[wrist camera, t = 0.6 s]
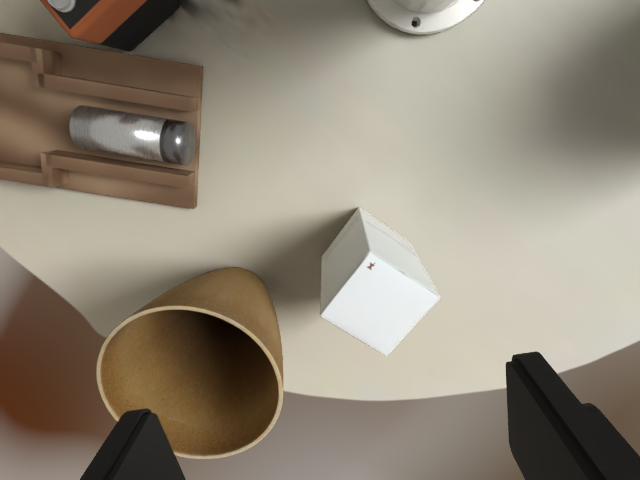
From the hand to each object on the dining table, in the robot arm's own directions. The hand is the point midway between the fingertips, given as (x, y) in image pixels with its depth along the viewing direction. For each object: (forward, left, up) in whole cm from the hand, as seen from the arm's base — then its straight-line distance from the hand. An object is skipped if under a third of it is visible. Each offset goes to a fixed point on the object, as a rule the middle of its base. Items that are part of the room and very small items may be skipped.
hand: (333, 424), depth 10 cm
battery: (-13, -20, -33) cm, 40 cm away
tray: (-2, -26, -32) cm, 42 cm away
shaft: (-2, -19, -31) cm, 37 cm away
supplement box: (+7, +5, -33) cm, 34 cm away
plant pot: (+15, -9, -33) cm, 37 cm away
